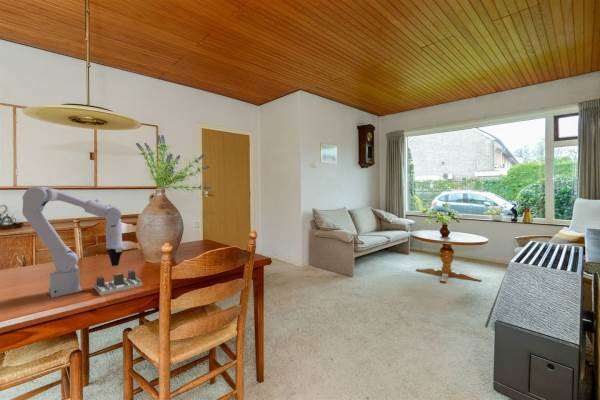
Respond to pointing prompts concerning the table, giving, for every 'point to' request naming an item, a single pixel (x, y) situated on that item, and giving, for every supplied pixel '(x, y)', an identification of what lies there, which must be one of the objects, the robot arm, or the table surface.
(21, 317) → the table surface
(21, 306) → the table surface
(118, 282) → the block
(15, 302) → the table surface
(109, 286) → the panel
